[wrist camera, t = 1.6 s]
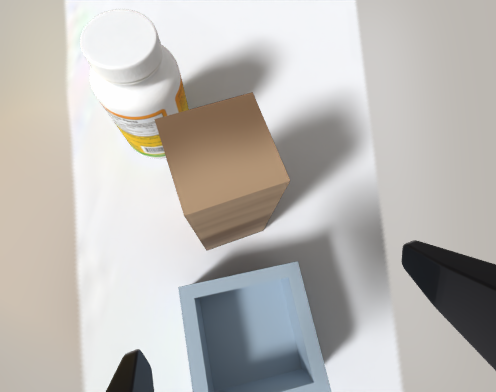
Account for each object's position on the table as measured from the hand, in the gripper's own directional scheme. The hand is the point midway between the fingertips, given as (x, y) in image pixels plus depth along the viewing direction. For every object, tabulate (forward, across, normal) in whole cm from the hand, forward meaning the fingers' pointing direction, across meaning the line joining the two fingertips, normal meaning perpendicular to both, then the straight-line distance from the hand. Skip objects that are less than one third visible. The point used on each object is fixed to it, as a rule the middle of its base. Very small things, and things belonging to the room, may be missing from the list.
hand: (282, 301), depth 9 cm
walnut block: (+13, 0, +4) cm, 14 cm away
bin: (+7, +1, +10) cm, 13 cm away
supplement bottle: (+19, +3, -2) cm, 20 cm away
